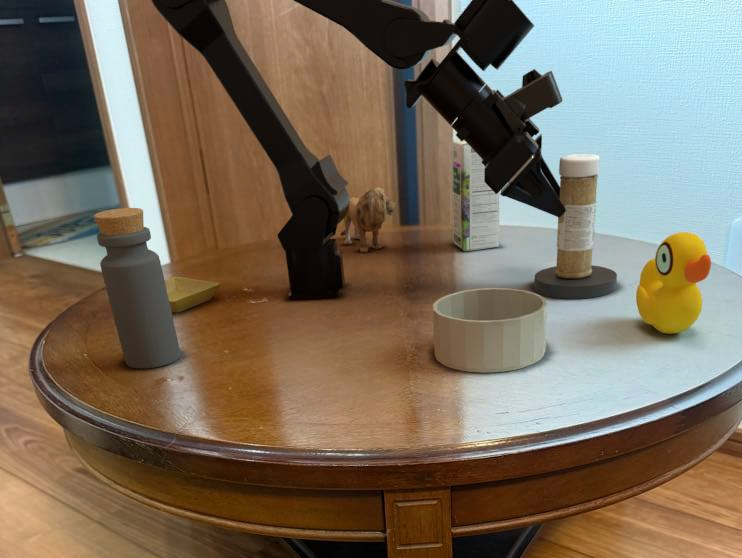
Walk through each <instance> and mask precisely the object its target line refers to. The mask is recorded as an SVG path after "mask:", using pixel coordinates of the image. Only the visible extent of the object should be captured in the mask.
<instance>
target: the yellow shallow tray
mask: <svg viewBox="0 0 742 558" xmlns="http://www.w3.org/2000/svg"><path fill="white" fill-rule="evenodd" d="M164 280H165V285H166V289H167V294H168V298H169V303H170V307H171V312H172V313H175V314H177V313H180V312H182V311H183V312H184V311H185V310H188V309H190V308H194V307H195V306H199V305H201V304H205V303H207V302H209V301H210V300H211V299H213V297H214V296H215V294H217V292H218V290H219V289H220V287H221V283H220V282H217V281H209V280H204V279H203V280H201V279H194V278H187V277H180V276H174V277H173V276H172V277H169V278H167V279H164Z"/></svg>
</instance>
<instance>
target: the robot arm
mask: <svg viewBox="0 0 742 558" xmlns="http://www.w3.org/2000/svg"><path fill="white" fill-rule="evenodd" d="M293 1H294V2H296V3H298V4H299V5H301V6H303V7H305V8H306V9H309V10H311V11H313V12H315V13H316V14H318V15H319V16H321V17H324V18H326V19H327V20H330V21H331V22H333V23H335V24H337V25H338V26H341V27H343V28H344V29H345V30H346V31H348V33H350V34H351V35H352V36H354V38H356V39H357V40H358V41H359V43H361V44H362V45H364V47H365V48H367V49H368V50H369V51H370V52H372V53H373V54H374V55H375V56H377V58H379V59H380V60H381V61H383V62H384V63H386V64H387V65H388V66H390V67H391V68H394V69H396V70H407V69H410V68H414V67H415V66H418V65H420V64H422V63H424V61H425V60H426V59H428V57H429V56H430V53H431V52H432V50H434V49H438V48H442V47H445V46H448V45H450V44H451V43H452V42H453V41H454V40H455V38H456V37H458V38H459V39H458V40H457V42H456V43H455V44H454V45H453V47H451V49H450V50H449V52H448V53H447V54H446V56H445V57H444V58H443V59H442V60H441V61H440V62H439V61H438V60H437V59H434V58H431V59H430V60H429V62H428V63H427V64H426V65H425V67H424V68H423V70H422V71H420V73H419V74H418V76H416V78H415V79H409V78H408V79H406V80H405V81H404V82H403V85H404V89H405V106H406V108H408V109H411V108H413V107H414V106H416V105H417V103H418V102H419V101H420V100H421V98H422V97H423V98H424V99H425V100H426V101H427V103H428V104H429V105H430V106H431V107H432V108H433V109H434V110H435V111H436V112H437V113H438V114H439V116H440V117H442V118H443V119H444V120H445V122H446V123H448V125H449V126H450V127H451V128H452V129H453V130H454V131H455V132H456V134H455V136H456V137H457V139H458V140H459V139H460V140H461V141H463V140H465V141H466V142H467V144H468V145H469V146H470V147H471V148H472V149H473V150H474V151H475V152H476V153H477V154H478V155H479V156H480V157H481V158H482V159H483V160H482V162H481V163H482V164H483V165H484V166H485V169H484V182H485V183H486V184H487V185H488V186H489V187H490V188H491V189H492V190H493V191H494V192H495V193H496V194H497V193H498V192H500V196H501V197H506V198H508V199H511V200H514V201H516V202H519V203H521V204H525V205H527V206H529V207H532V208H534V209H537V210H539V211H541V212H545V213H546V214H549V215H552V216H555V217H557V218H558V217H561V216H562V215H563V214H564V213H565V212H566V209H565V207H564V205H563V204H562V202H561V200H560V183H559V182H558V180H557V179H556V177H555V175H554V173H553V172H552V170H551V168H550V167H549V165H548V163H547V162H546V160H545V158H544V157H543V153H542V148H543V147H542V145H543V134H542V133H540V128H539V127H538V126H537V125H536V124H535V123H534V121H532V119H531V118H532V117H534V116H536V115H538V114H539V113H541V112H544V111H545V110H546V109H552V108H554V107H556V106H558V105H559V104H561V103H562V102H563V97H562V94H561V91H560V88H559V87H558V84H557V80H556V78H555V75H554V73H553V71H552V70H550V71H547V72H545V73H544V74H541V73H540V72H539V71H538V70H536V69H535V68H533V69H532V70H530V71H528V72H526V73H525V74H523V75H522V81H521V82H522V83H521V87H519V88H517V89H516V90H515V91H513V92H511V93H509V94H507V95H506V96H504V95H503V93H502V92H501V91H500V90H499V89H492V88H491V87H490V86H489V85H488V83H486V81H484V79H482V77H480V75H479V74H478V73H477V72H476V71H475V70H474V69H473V67H472V66H471V65H470V64H469V63H468V62H467V61H466V59H464V58H463V56H461V54H460V53H459V51H460V50H463V52H464V53H465V54H466V55H467V56H468V58H470V60H471V61H472V62H473V63H474V64H475V65H476V66H477V67H478V68H479V69H480V70H481V71H483V72H485V71H486V70H487V68H488V67H489V66H491V67H493V68H494V69H495V70H496V71H498V70H499V69H500V68H501V67H502V66H503V64H504V63H505V62H506V61H507V59H508V58H509V57H510V56H511V55H512V54H513V52H514V51H515V50H516V49H517V48H518V46H519V45H520V44H521V43H522V41H524V39H525V38H526V37H527V36H528V34H529V33H530V32H531V31H532V29H533V28H534V27H535V24H534V23H533V22H532V21H531V20H530V18H528V16H527V15H526V13H524V11H522V9H521V8H520V7H519V5H517V3H516V2H515V1H514V0H471V1H470V2H469V4H468V5H466V7H465V8H464V10H463V11H462V12H461V14H460V15H459V16H458V17H457V19H456V20H455V22H452V21H450V19H447V18H445V19H443V21H435V20H431V19H430V17H429V16H428V15H427V14H426V13H425V12H424V11H423V10H422V9H420V8H417V7H414V6H410V5H407V4H404V3H400V2H397V1H394V0H293ZM151 3H152V4H153V6H154V8H155V9H156V10H157V11H158V13H159V14H160V15H161V16H162V17H163V18H164V19H165V21H166V22H167V23H169V25H170V26H171V28H172V29H173V30H174V31H175V32H176V33H177V34H178V35H179V36H180V37H182V39H184V40H185V41H186V42H187V44H189V45H191V46H192V47H193V48H194V49H195V50H196V51H197V52H199V54H201V56H202V57H203V58H204V59H205V61H206V62H207V64H208V66H209V67H210V69H211V70H212V71H213V74H214V75H215V76H216V78H217V80H218V82H219V83H220V84H221V86H222V87H223V89H224V91H225V92H226V93H227V95H228V97H229V98H230V99H231V102H232V103H233V104H234V106H235V107H236V109H237V110H238V112H239V113H240V115H241V116H242V118H243V120H244V121H245V123H246V124H247V126H248V128H249V129H250V130H251V132H252V133H253V135H254V136H255V138H256V139H257V141H258V143H259V145H260V146H261V147H262V149H263V150H264V152H265V153H266V155H267V157H268V158H269V160H270V161H271V162H272V164H273V166H274V168H275V170H276V172H277V175H278V178H279V182H280V186H281V189H282V193H283V197H284V199H285V201H286V203H287V206H288V207H289V211H290V213H291V214H292V215H291V216H290V218H289V219H288V221H286V223H285V224H284V226H283V227H282V228H281V229H280V230H279V231H278V233H277V239H278V240H279V243H280V244H281V245H280V246H281V247H282V249H283V251H284V253H285V260H286V267H287V274H288V275H287V276H288V282H289V289H290V290H289V293H288V294H287V296H288V299H289V300H296V299H297V300H299V299H300V300H301V299H318V298H320V299H321V298H337V297H339V296H340V293H341V291H342V289H343V288H344V286H345V283H346V280H345V271H344V270H345V269H344V261H343V259H344V258H343V252H342V251H341V250H338V244H337V239H336V238H332V237H334V236H335V235H336V233H337V228H338V225H339V224H340V223H341V222H342V221H344V218H345V216H346V214H347V212H348V209H349V202H350V195H349V192H348V189H347V188H346V187H348V185H349V182H348V181H347V180H346V179H345V178H344V177H343V176H342V175H341V173H340V172H339V170H338V169H337V166H336V164H335V161H334V159H333V158H332V156H331V154H327V155H325V156H323V157H322V158H320V159H319V158H318V157H317V156H316V155H315V154H314V153H312V152H311V151H310V150H309V149H308V148H307V146H306V145H305V143H304V142H303V140H302V138H301V137H300V135H299V134H298V132H297V130H296V129H295V127H294V125H293V124H292V123H291V121H290V119H289V117H288V115H286V113H285V110H284V109H283V108H282V106H281V105H280V103H279V101H278V100H277V98H276V97H275V95H274V94H273V91H272V90H271V89H270V87H269V86H268V84H267V82H266V80H265V79H264V78H263V76H262V74H261V73H260V71H259V70H258V68H257V66H256V64H255V63H254V61H253V60H252V58H251V57H250V55H249V54H248V52H247V51H246V49H245V47H244V45H243V43H242V42H241V41H240V39H239V38H238V36H237V33H236V31H235V27H234V24H233V20H232V16H231V12H230V9H229V6H228V2H227V0H151ZM539 133H540V134H539ZM538 134H539V135H538ZM534 136H537V137H536V138H535V139H534Z"/></svg>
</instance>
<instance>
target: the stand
mask: <svg viewBox="0 0 742 558" xmlns="http://www.w3.org/2000/svg"><path fill="white" fill-rule="evenodd" d="M556 268H557V265H555V266H551V267H547V268H543V269H541V270H539V271H537V272H536V273H535V274H534V278H533V279H534V283H533V284H534V285H533V288H534V291H535V292H536V293H537V294H539V295H541V296H542V295H543V296H546V297H549V298H555V299H564V300H565V299H567V300H568V299H569V300H574V299H575V300H579V299H580V300H581V299H593V298H598V297H603V296H606V295H609V294H611V293H613V292H614V291H615V290H616V288H617V281H618V274H617V272H616V271H615V270H613V269H611V268H608V267H605V266H600V265H593V264H591V268H592V274H591V275H590V276H587V277H584V278H577V279H575V278H562V277H559V276H557V275H556V273H555V270H556Z"/></svg>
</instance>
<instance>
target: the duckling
mask: <svg viewBox="0 0 742 558" xmlns="http://www.w3.org/2000/svg"><path fill="white" fill-rule="evenodd" d="M707 251H708V250H707V247H706V244H705V242H704V241H703V239H702V238H701V237H700V236H699V235H697V234H696V233H692V232H688V231H679V232H676V233H673V234H670V235H669V236H667V237H666V238H664V239H663V240H662V241H661V243H660V244H659V246H658V247H657V250H656V252H655V257H654V258H652V259H650V260H648V261H647V262H646V263H645V265H644V266H643V268H642V270H641V272H640V277H639V284H638V285H637V288H636V293H635V294H636V295H635V301H636V307H637V311H638V313H639V315H640V318H641V319H642V321H643V322H644V323H645V324H648V325H651V326H652V327H654V329H656V330H657V331H659V332H660V333H663V334H671V335H672V334H679V333H682V332H685V331H687V330H688V329H689V328H691V326H692V325H694V323H695V322H696V321H698V319H699V317H700V316H701V312H702V308H703V297H702V293H701V290H700V289H699V287H698V285H697V283H700V282H702V281H705V280H706V278H708V276H709V274H710V272H711V266H712V258H711V256H710V255H709V254H708V252H707Z"/></svg>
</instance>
